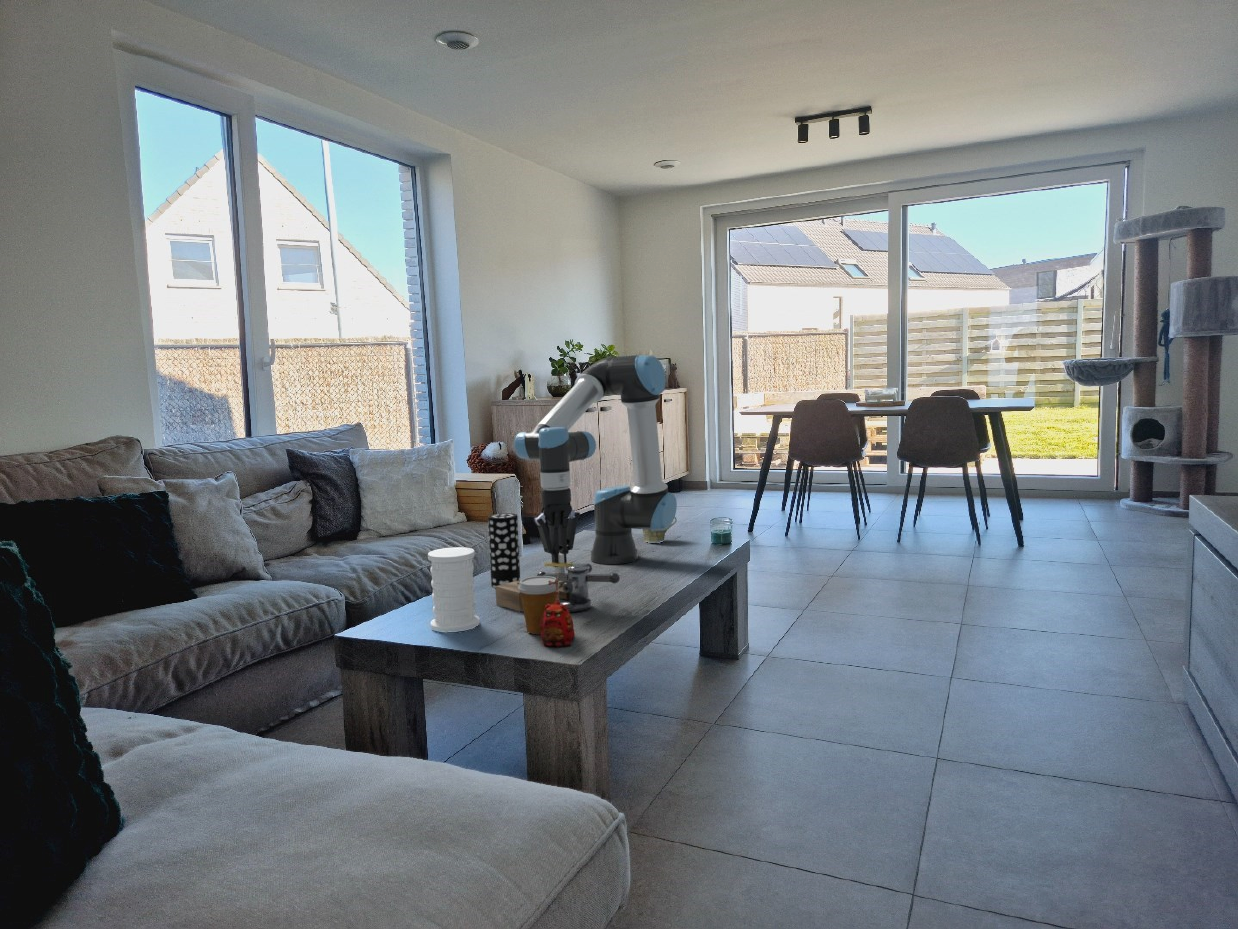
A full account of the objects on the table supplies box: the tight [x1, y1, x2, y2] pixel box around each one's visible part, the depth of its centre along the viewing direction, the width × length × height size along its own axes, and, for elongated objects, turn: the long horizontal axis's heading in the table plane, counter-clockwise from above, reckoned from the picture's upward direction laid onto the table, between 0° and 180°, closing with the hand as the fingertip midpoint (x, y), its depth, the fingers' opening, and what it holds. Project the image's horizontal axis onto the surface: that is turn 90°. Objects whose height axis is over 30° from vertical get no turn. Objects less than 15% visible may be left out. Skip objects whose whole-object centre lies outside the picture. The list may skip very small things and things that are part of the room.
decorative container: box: [427, 546, 480, 632], centre depth 192 cm, size 12×12×18 cm
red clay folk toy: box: [540, 574, 575, 648], centre depth 177 cm, size 8×7×15 cm
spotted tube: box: [487, 512, 521, 589], centre depth 229 cm, size 8×8×20 cm
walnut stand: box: [495, 579, 569, 613], centre depth 210 cm, size 18×16×6 cm
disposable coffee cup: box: [518, 575, 559, 634], centre depth 187 cm, size 10×10×12 cm
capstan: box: [536, 561, 621, 613], centre depth 204 cm, size 22×22×11 cm
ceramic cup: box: [642, 516, 677, 543], centre depth 283 cm, size 13×10×10 cm
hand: (560, 578), depth 208 cm, fingers closed
